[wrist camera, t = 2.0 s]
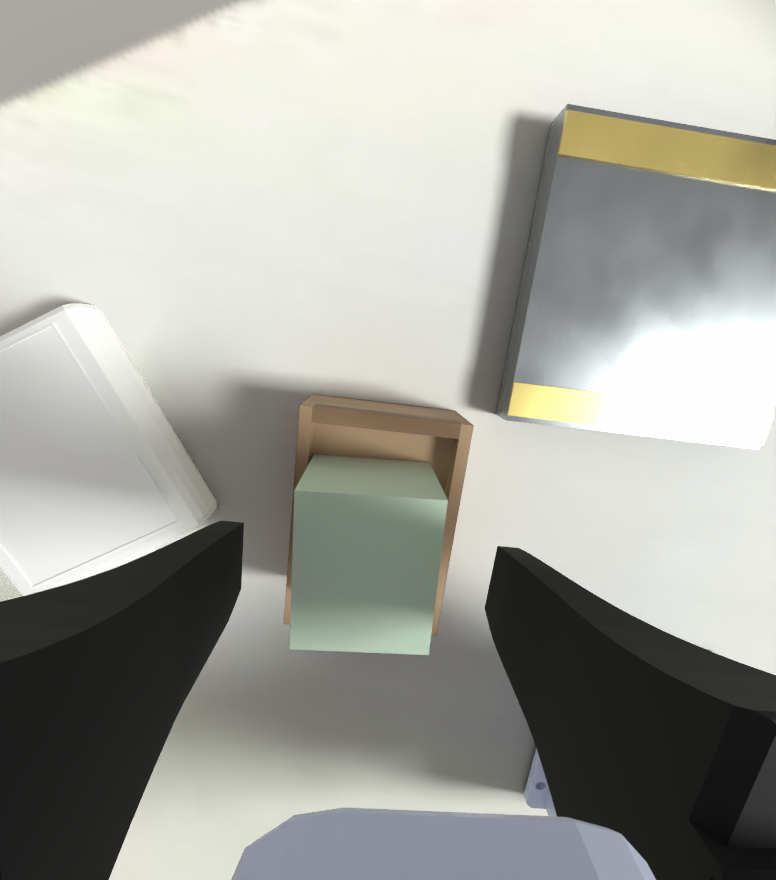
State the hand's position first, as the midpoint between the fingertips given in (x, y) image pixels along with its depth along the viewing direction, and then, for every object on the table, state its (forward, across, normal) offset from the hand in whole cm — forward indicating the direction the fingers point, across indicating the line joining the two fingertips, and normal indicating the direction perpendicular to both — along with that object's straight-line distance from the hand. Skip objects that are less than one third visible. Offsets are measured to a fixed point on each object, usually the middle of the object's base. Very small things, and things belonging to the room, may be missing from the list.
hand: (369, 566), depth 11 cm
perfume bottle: (+6, +11, +1) cm, 12 cm away
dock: (+5, -10, -9) cm, 14 cm away
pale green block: (+3, 0, 0) cm, 3 cm away
